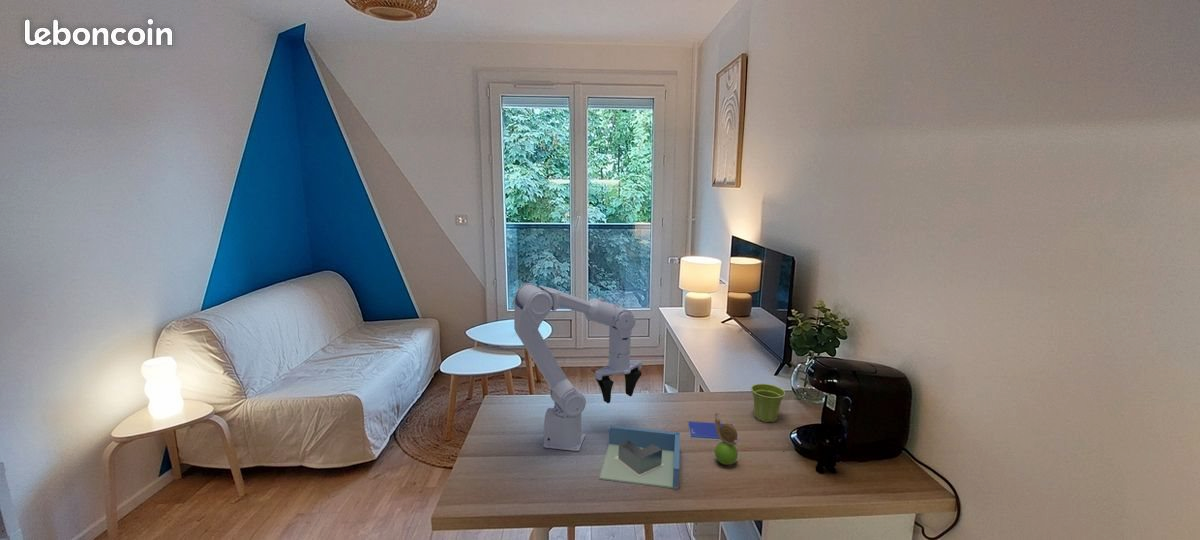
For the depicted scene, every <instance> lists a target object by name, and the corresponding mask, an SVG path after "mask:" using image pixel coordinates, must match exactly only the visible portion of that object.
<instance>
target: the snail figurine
mask: <svg viewBox="0 0 1200 540" xmlns="http://www.w3.org/2000/svg"><path fill="white" fill-rule="evenodd" d="M718 415H719V412H716V413H714V417H715V418H714V423H716V431H717V435H718V437H719V438H720V439H721V440H722V441H719V443H718V444H717V445H716V446H715V449H714V456H715V458H716V460H717V461H718V463H720V464H722V465H726V466H729V465H732V464H734V463H735V462H736V461H737V459H738V454H739V453H738V449H737V447H736V445H737V442H734V441H735V440H736V438H737V439H738V432H737V429H736V428H735V427H734V426H732V425H733V424H732V425H730V424H731V423H723V424H724V425H722V426H721V427H720V423H721V418H719V417H717V416H718Z"/></svg>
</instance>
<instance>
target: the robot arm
mask: <svg viewBox="0 0 1200 540" xmlns="http://www.w3.org/2000/svg"><path fill="white" fill-rule="evenodd" d="M605 300H606V299H604V298H602V297H598V298H595V297H593V298H590V299H589V300H585V299H582V298H579V297H578V296H575V295H572V294H570V293H567V292H564V291H561V290H558V289H557V288H556V289H555V288H552V287H548V286H545V285H538V286H537V285H536V284H534V283H531V282H529V283H524V284H522V285H521V286H519V287H518V289H517V290H516V292H515V295H514V297H513V299H512V303H513V309H514V316H513V317H514V319H513V320H514V321H513V322H514V323H513V325H514V332H515V333H516V335H517V336H518V338H519V339H520V341H521V343H522V345H523V346H524V347H525V349H526V351H527V352H528V354H529V355H530V358H531V359H532V360H533V362H534V364H535V365H536V367H537V369H538V370H539V372H540V373H541V375H542V376H543V378H544V379H545V381H546V383H547V387H548V388H549V392H550V393H549V395H550V398H551V400H552V401H553V402H554V406H553V407H548V408H547V409H546V412H545V414H544V419H543V445H542V446H543V448H547V449H554V450H555V449H556V450H564V451H572V452H579V451H580V450H581V446H582V445H583V442H584V439H585V437H586V434H585V433H582V412H583V411H584V410H585V408H586V405H587V401H586V397H585V396H584V395H583V394H582V393H580V392H579V391H578V390H577V389H576V388H575V387H574V385H573V384H572V382H571V381H570V380H569V379H568V377H567V376H566V373H565V372H564V371H563V369H562V367H561V366H560V364H559V363H558V361H557V359H556V357H555V356H554V354H553V352H552V351H551V350H550V347H549V346H548V344H547V342H546V341H545V340H544V337H543V335H541V333H540V331H539V328H540V326H541V324H542V322H544V320H545V319H546V317H547V316H548V315H549V313H550V312H551V311H552V312H555V311H557V310H558V309H559V308H561V307H562V308H563V309H568V310H571V311H572V310H573V311H576V312H579V313H582V314H584V316H585V318H586V320H588V321H592V322H595V323H598V324H601V325H605V326H607V327H609V329H608V331H609V334H608V336H609V337H608V364H607V365H605V366H603V367H602V368H599V369H597V370H595V371H594V378H595V380H596V382H597V384H598V385H599V388H600V392H601V395H602V398H603V402H605V403H606V404H611V401H612V400H611V399H612V389H613V385H614V381H613V380H611V378H610V376H611V377H613V376H616V375H618V374H619V375H620V374H622V375H624V380H625V381H624V382H625V387H624V390H625V394H626V396H629V397H633V394H634V390H635V387H636V385H637V383H638V382H639V379H640V377H641V376H642V371H641V370H642V367H643V365H642V364H643V361H640V360H638V359H636V360H631V337H632V331H633V328H634V327H635V326H636V321H637V320H636V319H635V315H634V314H633V312H632V311H630V310H629V309H627V308H625V307H623V306H621V305H620V304H618V303H611V302H607V301H605Z"/></svg>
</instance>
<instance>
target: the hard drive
mask: <svg viewBox="0 0 1200 540" xmlns="http://www.w3.org/2000/svg"><path fill="white" fill-rule="evenodd" d="M724 424H725V423H721V422H720V427H721V426H722V425H724ZM729 424H730V425H732V426H733V423H729ZM733 427H734V426H733ZM687 429H688V434H689V438H690V440H698V439H699V440H700V441H715V440H719V442H723V441H722V440H721V439H720V438H719V437H718V435H717V431H716V423H715V422H703V421H702V422H701V421H690V420H688V421H687ZM734 442H736V443H737V442H738V437H737V438H736V440H735V441H734Z"/></svg>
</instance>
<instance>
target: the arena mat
mask: <svg viewBox="0 0 1200 540" xmlns="http://www.w3.org/2000/svg"><path fill="white" fill-rule="evenodd" d="M607 446H608V447H607V449H606V450H607V451H606V454H605V457H604V459H603V460H604V461H603V464H602V467H601V471H600V474H599V477H598V479H599V480H600V481H601V480H603V481H611V482H617V483H619V482H620V483H625V484H626V483H627V484H634V485H642V486H651V487H657V488H658V487H659V488H666V489H667V488H668V489H675V488H676V487H673V468H674V451H669V450H662V463H661V465H660V466H658V467H655V468H653V469H651V470H649V471H646V472H644V473H642V474H638V473H637V472H635V471H634V470H633V469H631V468H630V467H629V466H628V465H626V464H625V463H624V462H622V461H621V460H620V459H619V458H618V453H619V445H615V444H609V443H608V445H607ZM639 448H640V449H643V448H642V447H639ZM678 489H679V486H678V487H677V489H676V490H678Z"/></svg>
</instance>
